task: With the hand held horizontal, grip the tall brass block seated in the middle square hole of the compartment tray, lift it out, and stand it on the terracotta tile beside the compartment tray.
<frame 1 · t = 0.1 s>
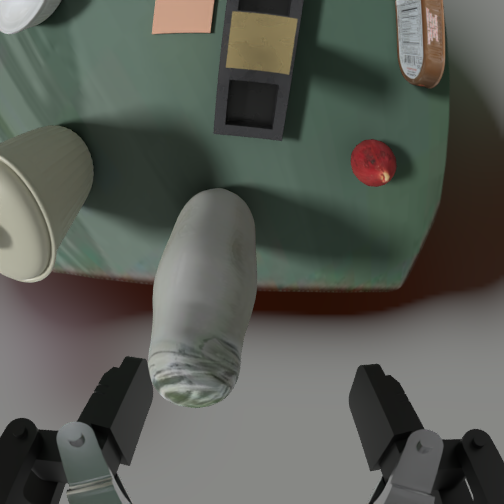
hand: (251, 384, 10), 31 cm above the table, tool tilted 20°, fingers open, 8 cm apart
brass block: (258, 47, 27), resting on compartment tray
pomegranate: (363, 152, 36), on the table
tile: (184, 7, 24), on the table
glass bottle: (219, 207, 42), on the table
compartment tray: (258, 47, 28), on the table
tin: (402, 29, 24), on the table
canister: (63, 162, 36), on the table
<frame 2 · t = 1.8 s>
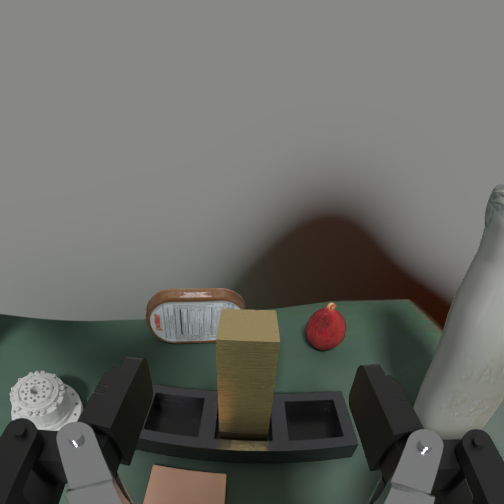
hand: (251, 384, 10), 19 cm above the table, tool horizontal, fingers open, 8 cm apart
brass block: (243, 431, 26), resting on compartment tray
pomegranate: (321, 350, 42), on the table
tile: (184, 501, 18), on the table
glass bottle: (435, 430, 24), on the table
compartment tray: (243, 433, 27), on the table
mechanical component: (49, 416, 24), on the table
tin: (198, 341, 43), on the table
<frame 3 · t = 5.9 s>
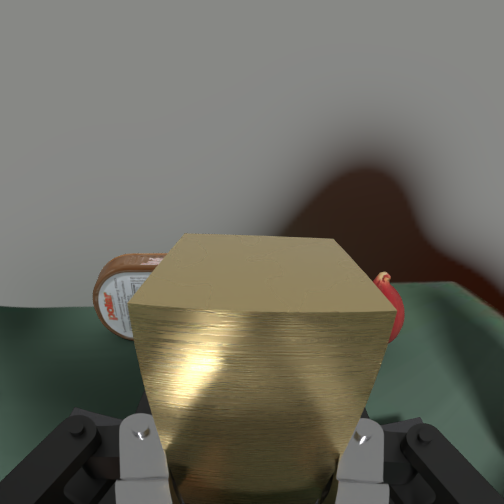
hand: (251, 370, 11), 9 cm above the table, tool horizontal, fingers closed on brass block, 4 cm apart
pomegranate: (365, 350, 26), on the table
tin: (174, 338, 27), on the table
when the fingers open (10 cm above the table, at t = 10.5 s): brass block stays where it is, resting on tile.
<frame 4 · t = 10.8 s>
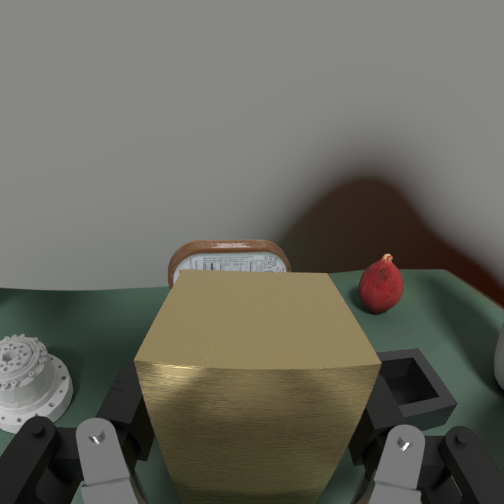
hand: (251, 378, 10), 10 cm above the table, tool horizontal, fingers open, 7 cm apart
pomegranate: (374, 314, 35), on the table
compartment tray: (310, 409, 20), on the table
mechanical component: (28, 396, 17), on the table
tin: (230, 307, 37), on the table
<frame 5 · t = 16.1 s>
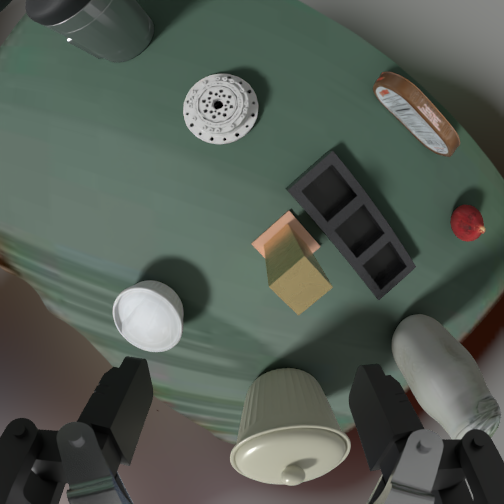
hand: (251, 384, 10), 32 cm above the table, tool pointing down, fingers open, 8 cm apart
brass block: (286, 245, 42), resting on tile
pomegranate: (453, 217, 41), on the table
ramekin: (156, 304, 45), on the table
tile: (286, 244, 42), on the table
glass bottle: (406, 328, 47), on the table
compartment tray: (354, 227, 41), on the table
mechanical component: (221, 109, 36), on the table
tin: (403, 118, 36), on the table
canister: (283, 388, 51), on the table
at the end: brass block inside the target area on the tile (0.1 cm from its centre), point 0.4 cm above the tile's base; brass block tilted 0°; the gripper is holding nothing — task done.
